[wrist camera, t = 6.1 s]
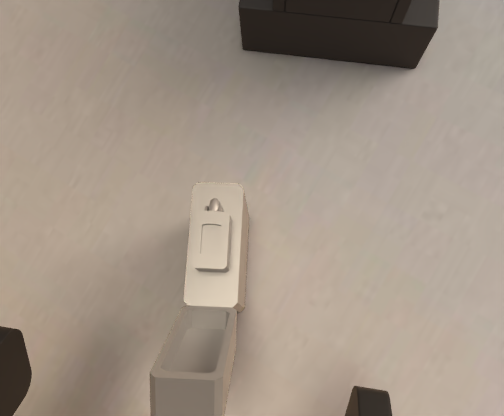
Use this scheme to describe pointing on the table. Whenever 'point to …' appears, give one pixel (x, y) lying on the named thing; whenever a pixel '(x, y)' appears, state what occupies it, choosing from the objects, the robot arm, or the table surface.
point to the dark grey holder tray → (341, 29)
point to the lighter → (205, 307)
